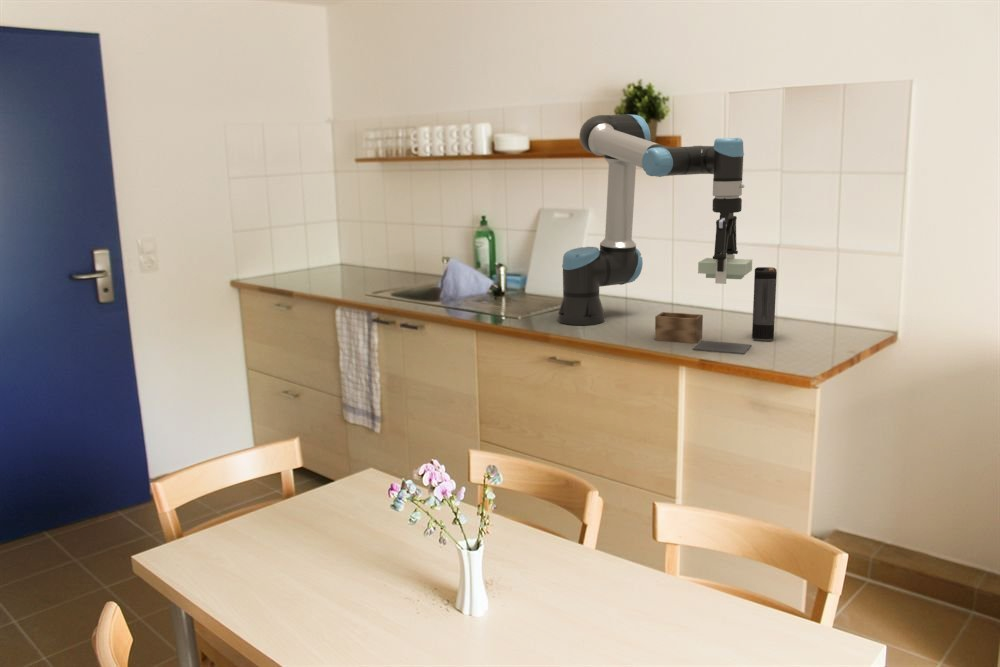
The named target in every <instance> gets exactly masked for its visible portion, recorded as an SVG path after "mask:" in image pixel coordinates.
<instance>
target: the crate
mask: <svg viewBox="0 0 1000 667" xmlns="http://www.w3.org/2000/svg"><path fill="white" fill-rule="evenodd" d="M703 318H704V315H703V314H697V313H684V312H682V313H681V312H668V311H661V312H660V313H658V314H657V315H656V316H655V319H654V320H655V322H654V324H655V325H654V328H655V329H654V330H655V331H654V341H660V342H661V341H664V342H674V343H675V342H676V343H686V344H698V343H699V342H700V341H702V339H703V323H704V322H703V321H704V320H703Z"/></svg>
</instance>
